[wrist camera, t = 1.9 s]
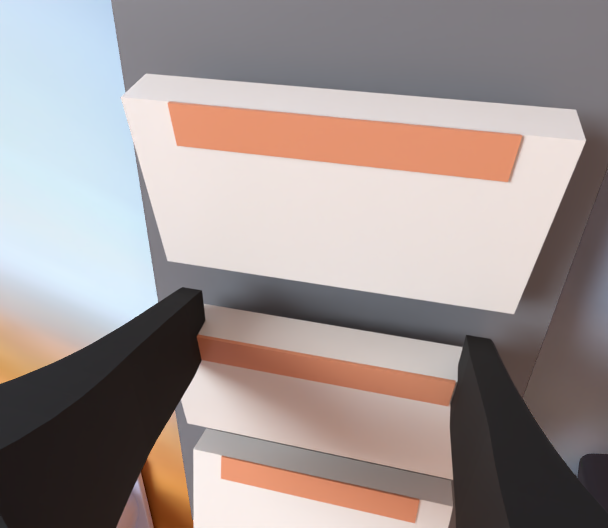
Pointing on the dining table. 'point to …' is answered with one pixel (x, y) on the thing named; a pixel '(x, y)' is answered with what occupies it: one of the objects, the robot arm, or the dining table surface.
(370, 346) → the block
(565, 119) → the white tile
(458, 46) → the grey flat board
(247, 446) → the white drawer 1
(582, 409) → the dining table surface
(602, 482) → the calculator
